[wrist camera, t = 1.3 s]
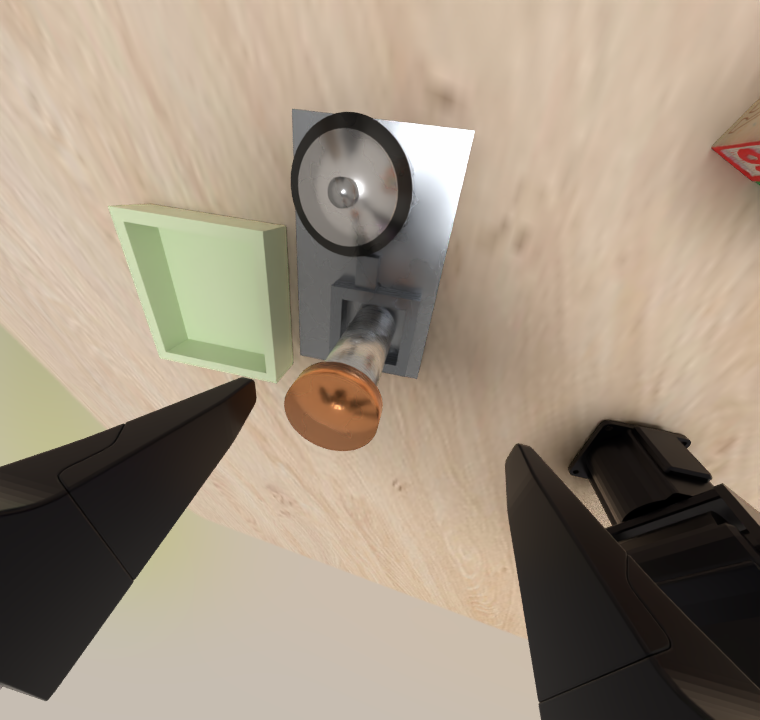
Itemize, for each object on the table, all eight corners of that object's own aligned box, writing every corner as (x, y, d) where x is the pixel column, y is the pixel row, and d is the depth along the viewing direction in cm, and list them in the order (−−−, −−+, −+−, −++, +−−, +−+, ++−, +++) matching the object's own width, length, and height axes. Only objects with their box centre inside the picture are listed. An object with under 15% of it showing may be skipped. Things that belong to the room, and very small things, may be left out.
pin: (398, 355, 23) (372, 459, 14) (344, 345, 23) (287, 439, 14) (408, 303, 20) (383, 388, 12) (348, 292, 21) (281, 366, 12)
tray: (293, 363, 26) (276, 383, 24) (187, 341, 27) (160, 358, 25) (286, 225, 20) (262, 231, 17) (149, 203, 21) (107, 206, 18)
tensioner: (417, 372, 24) (413, 405, 20) (305, 349, 25) (281, 377, 21) (472, 134, 16) (482, 117, 12) (299, 112, 17) (258, 91, 13)
